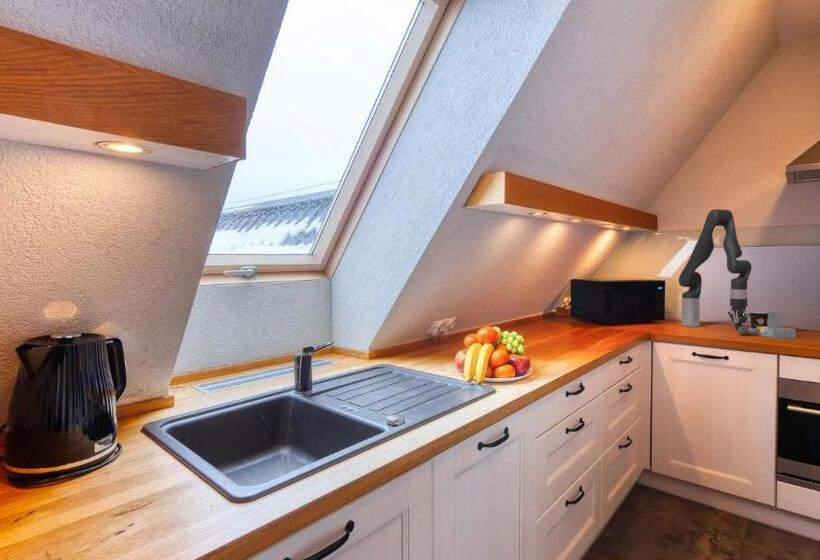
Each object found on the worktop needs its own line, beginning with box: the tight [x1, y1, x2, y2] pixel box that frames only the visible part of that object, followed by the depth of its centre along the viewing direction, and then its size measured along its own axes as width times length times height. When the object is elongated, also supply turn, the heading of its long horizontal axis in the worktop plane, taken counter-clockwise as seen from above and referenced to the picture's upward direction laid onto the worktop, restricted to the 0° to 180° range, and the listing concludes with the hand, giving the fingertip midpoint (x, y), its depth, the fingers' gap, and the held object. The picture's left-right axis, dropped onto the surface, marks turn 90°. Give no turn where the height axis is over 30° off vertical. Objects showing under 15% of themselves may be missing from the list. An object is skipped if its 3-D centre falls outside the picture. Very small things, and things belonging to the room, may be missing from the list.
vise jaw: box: [737, 326, 768, 334], centre depth 240 cm, size 3×22×3 cm, turn 92°
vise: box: [748, 327, 797, 339], centre depth 241 cm, size 20×12×4 cm, turn 2°
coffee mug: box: [749, 311, 768, 328], centre depth 260 cm, size 12×9×10 cm
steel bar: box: [767, 311, 784, 329], centre depth 237 cm, size 4×5×11 cm
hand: (738, 330), depth 244 cm, fingers closed
